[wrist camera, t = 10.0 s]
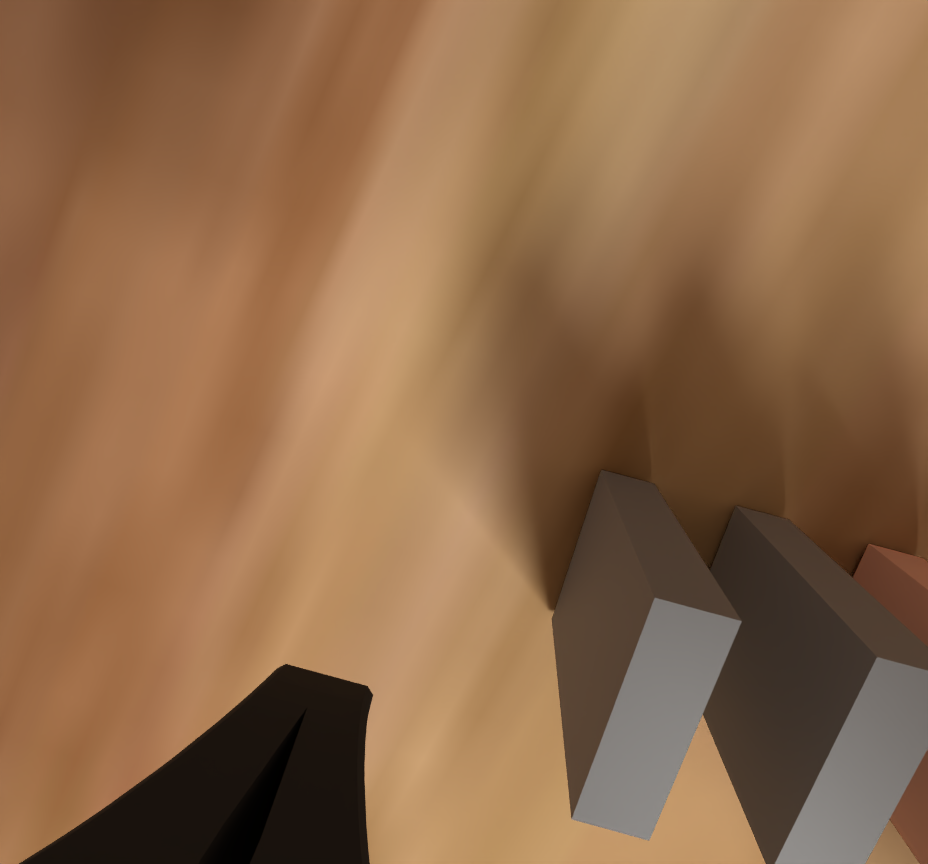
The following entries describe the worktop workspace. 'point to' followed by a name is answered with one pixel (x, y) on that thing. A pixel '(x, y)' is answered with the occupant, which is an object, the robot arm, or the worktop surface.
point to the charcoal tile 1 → (634, 654)
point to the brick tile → (924, 613)
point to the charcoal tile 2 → (813, 697)
